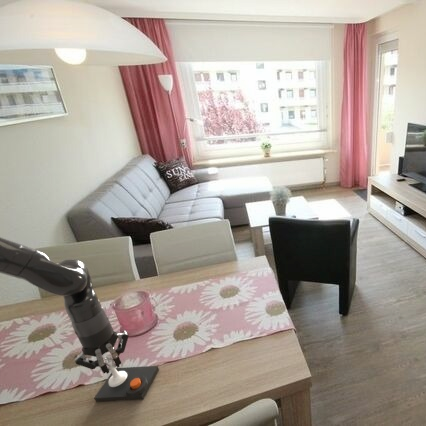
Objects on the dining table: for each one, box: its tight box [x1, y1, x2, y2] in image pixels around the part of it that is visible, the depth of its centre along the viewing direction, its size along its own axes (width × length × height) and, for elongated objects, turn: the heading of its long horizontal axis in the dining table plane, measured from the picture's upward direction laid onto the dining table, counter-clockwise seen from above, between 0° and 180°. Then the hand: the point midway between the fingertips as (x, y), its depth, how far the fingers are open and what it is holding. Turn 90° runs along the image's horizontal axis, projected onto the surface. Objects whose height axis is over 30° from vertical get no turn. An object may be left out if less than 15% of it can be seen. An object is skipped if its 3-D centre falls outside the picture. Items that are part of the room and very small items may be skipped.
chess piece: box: [104, 355, 127, 387], centre depth 88 cm, size 5×5×10 cm
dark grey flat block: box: [94, 365, 160, 403], centre depth 91 cm, size 10×14×4 cm
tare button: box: [130, 378, 141, 389], centre depth 88 cm, size 3×3×2 cm
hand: (112, 368), depth 88 cm, fingers closed on chess piece
